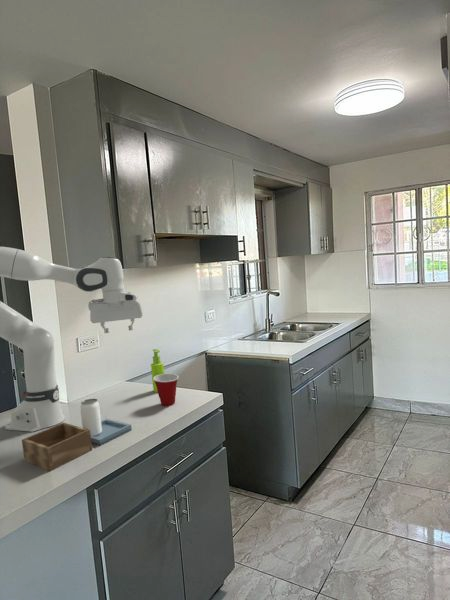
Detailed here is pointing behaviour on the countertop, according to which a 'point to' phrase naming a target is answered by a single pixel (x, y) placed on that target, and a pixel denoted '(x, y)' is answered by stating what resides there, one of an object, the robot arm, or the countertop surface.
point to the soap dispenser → (156, 367)
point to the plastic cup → (166, 388)
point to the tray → (110, 431)
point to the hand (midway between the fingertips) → (118, 331)
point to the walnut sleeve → (56, 446)
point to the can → (91, 416)
